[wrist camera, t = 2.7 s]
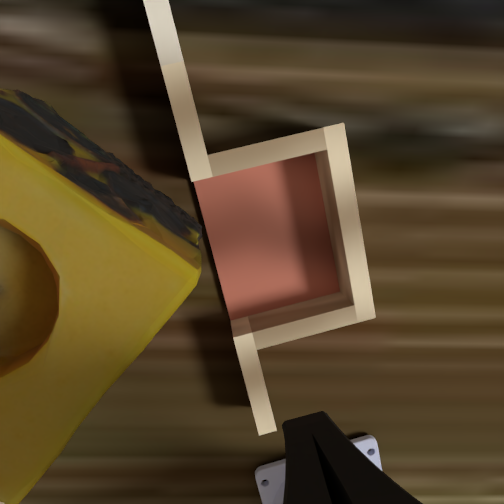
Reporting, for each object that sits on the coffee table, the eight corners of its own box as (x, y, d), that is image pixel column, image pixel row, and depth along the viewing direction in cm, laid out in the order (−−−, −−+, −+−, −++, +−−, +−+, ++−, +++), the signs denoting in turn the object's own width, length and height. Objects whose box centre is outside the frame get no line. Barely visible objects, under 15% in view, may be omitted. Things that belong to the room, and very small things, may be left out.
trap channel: (370, 374, 23) (388, 398, 21) (-108, 508, 22) (-147, 551, 19) (265, -226, 16) (275, -295, 14) (-458, -99, 15) (-591, -152, 12)
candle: (-76, 256, 19) (-369, 347, 9) (38, 94, 18) (-158, 8, 8) (97, 363, 21) (7, 525, 12) (207, 224, 20) (207, 275, 11)
